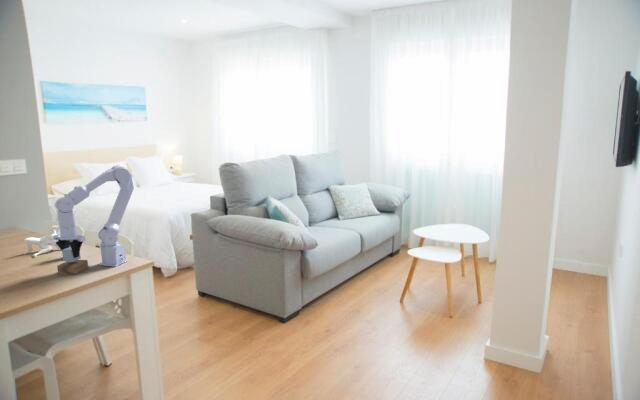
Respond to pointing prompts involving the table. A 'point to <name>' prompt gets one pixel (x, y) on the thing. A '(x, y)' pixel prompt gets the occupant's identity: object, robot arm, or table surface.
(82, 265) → the walnut block
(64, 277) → the table surface
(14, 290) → the table surface
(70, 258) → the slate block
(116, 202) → the robot arm
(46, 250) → the person figurine
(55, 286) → the table surface
